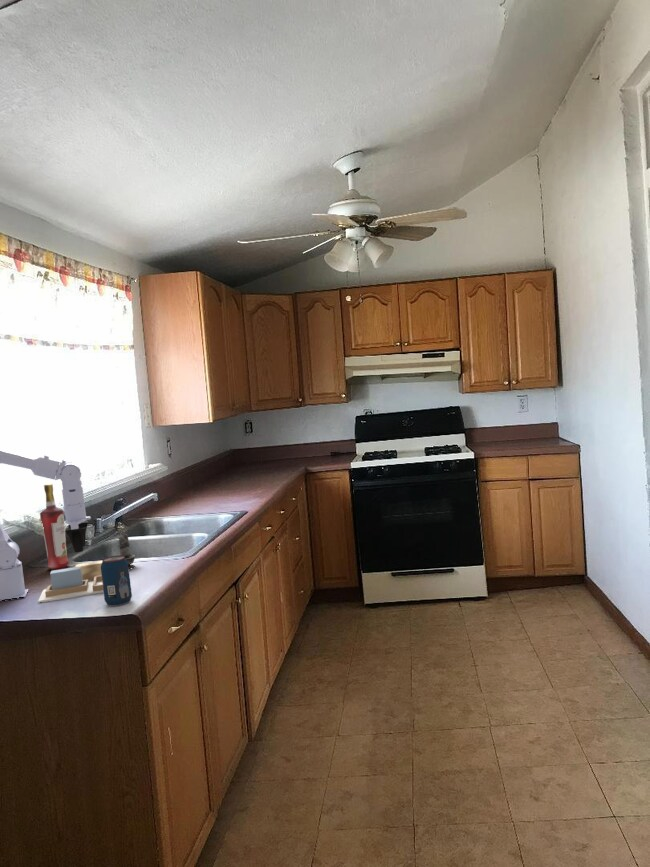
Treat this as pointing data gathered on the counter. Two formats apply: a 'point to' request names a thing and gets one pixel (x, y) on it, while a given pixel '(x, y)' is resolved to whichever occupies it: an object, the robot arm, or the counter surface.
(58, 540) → the liquor
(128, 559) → the salt shaker
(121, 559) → the soda can
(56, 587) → the light blue block
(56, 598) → the jig
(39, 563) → the counter surface
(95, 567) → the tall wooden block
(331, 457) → the counter surface
